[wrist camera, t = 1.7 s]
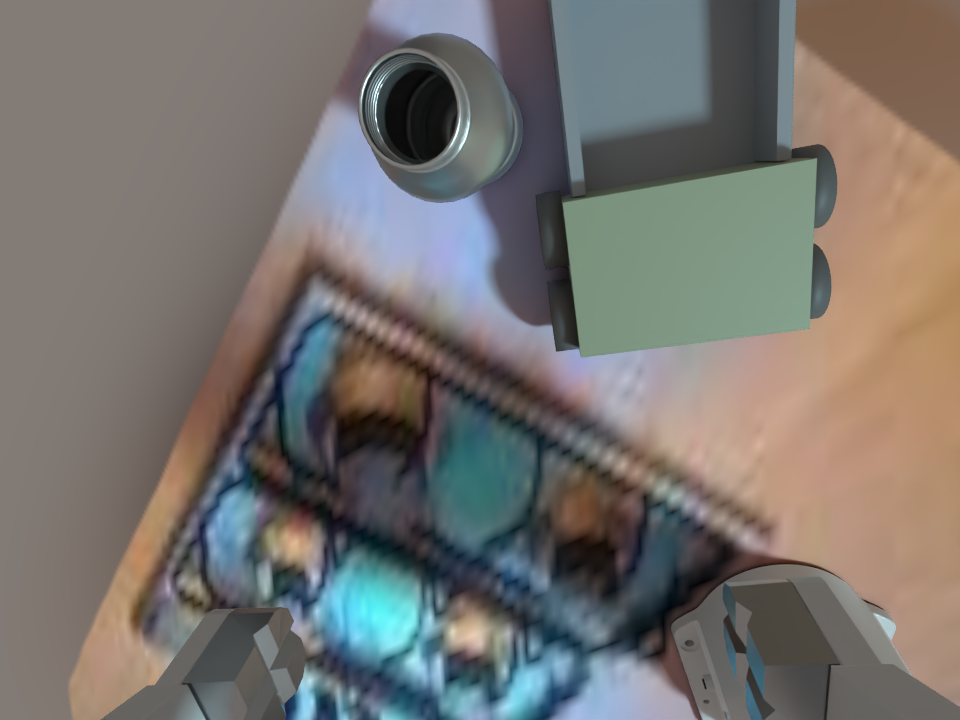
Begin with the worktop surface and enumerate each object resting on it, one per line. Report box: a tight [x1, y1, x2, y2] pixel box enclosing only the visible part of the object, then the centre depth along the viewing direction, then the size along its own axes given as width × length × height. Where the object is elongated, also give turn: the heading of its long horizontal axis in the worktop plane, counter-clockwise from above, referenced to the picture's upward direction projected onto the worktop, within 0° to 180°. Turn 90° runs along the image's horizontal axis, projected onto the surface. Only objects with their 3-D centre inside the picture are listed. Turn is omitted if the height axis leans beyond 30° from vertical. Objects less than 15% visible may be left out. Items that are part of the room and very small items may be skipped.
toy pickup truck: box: [535, 0, 837, 357], centre depth 32 cm, size 23×17×6 cm
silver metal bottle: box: [358, 33, 523, 203], centre depth 26 cm, size 6×7×20 cm
